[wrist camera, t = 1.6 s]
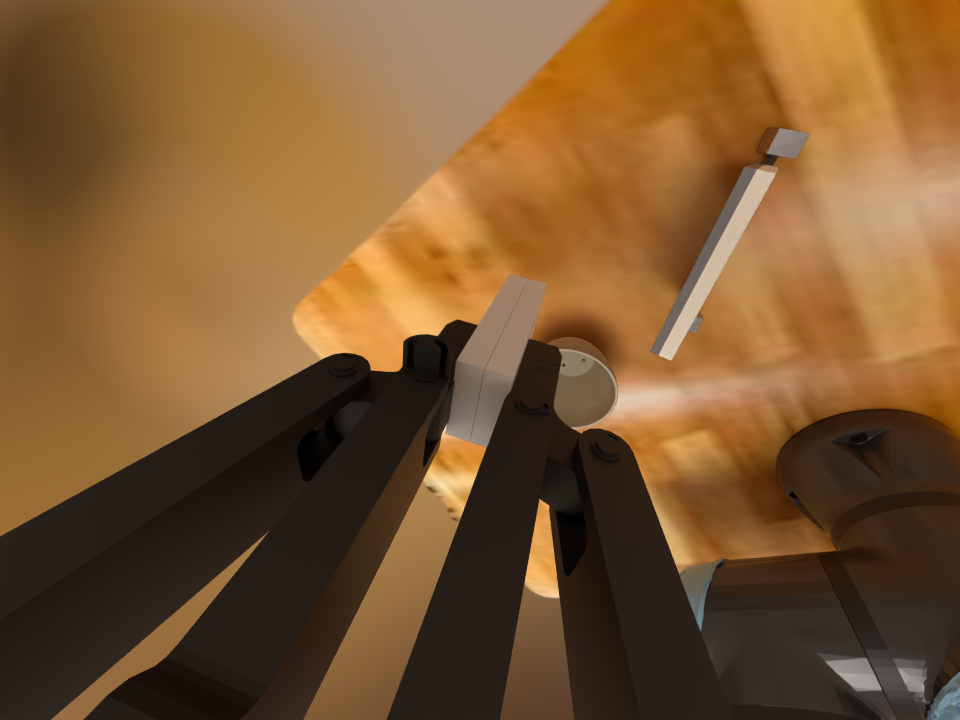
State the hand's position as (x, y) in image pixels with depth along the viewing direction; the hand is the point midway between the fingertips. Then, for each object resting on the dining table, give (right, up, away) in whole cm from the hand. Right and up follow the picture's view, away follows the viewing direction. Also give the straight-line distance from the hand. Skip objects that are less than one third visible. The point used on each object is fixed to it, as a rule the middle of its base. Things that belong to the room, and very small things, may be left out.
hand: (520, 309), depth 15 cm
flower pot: (+9, -2, +28) cm, 30 cm away
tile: (+15, +6, +12) cm, 20 cm away
